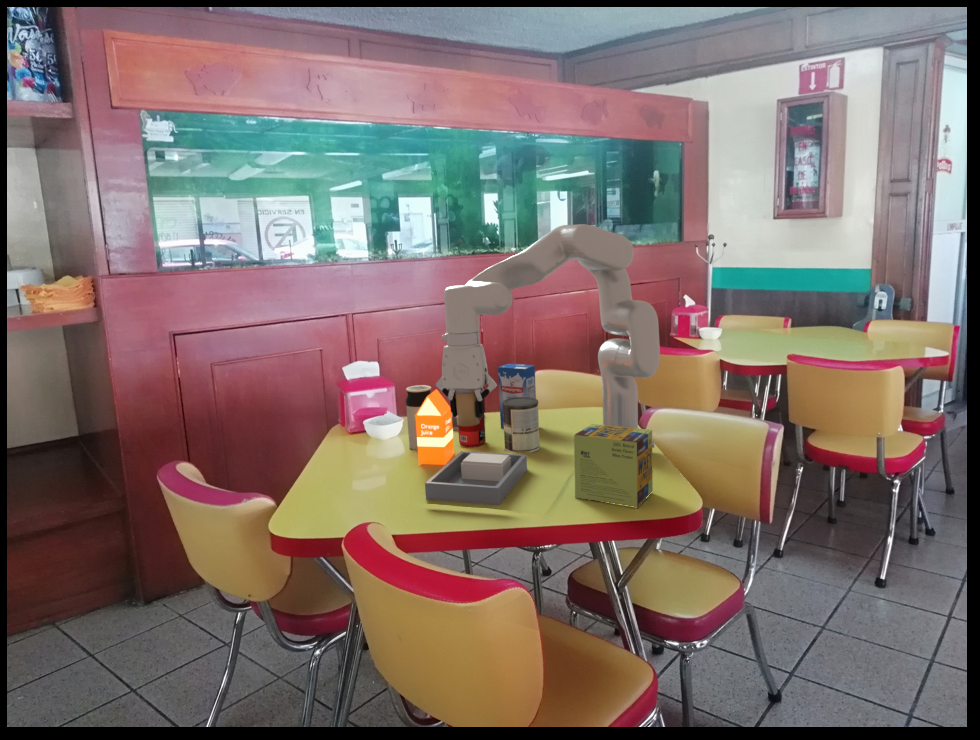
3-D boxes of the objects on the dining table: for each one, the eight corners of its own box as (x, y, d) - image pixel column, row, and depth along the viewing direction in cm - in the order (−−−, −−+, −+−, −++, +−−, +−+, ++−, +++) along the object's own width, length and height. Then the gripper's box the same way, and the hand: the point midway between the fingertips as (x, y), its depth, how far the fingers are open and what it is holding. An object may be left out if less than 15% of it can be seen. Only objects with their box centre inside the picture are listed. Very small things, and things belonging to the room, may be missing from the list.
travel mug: (429, 451, 201) (425, 391, 197) (404, 449, 203) (400, 390, 200) (440, 443, 208) (436, 385, 205) (416, 441, 211) (412, 384, 207)
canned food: (485, 447, 202) (483, 410, 200) (458, 448, 202) (456, 412, 200) (486, 439, 210) (484, 404, 207) (460, 440, 210) (457, 405, 208)
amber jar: (475, 426, 159) (473, 388, 157) (453, 426, 160) (451, 388, 158) (482, 420, 164) (480, 383, 162) (461, 419, 165) (459, 383, 163)
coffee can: (497, 451, 198) (495, 403, 195) (517, 441, 206) (514, 395, 203) (527, 456, 192) (525, 407, 189) (546, 446, 200) (545, 398, 197)
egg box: (511, 472, 177) (510, 454, 176) (503, 481, 170) (502, 463, 169) (471, 469, 180) (470, 452, 179) (461, 478, 174) (460, 461, 173)
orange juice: (454, 457, 194) (450, 388, 190) (446, 468, 185) (441, 396, 182) (428, 457, 196) (423, 388, 192) (418, 467, 187) (413, 395, 183)
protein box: (638, 509, 152) (637, 442, 149) (574, 498, 160) (572, 434, 157) (653, 493, 161) (653, 429, 158) (592, 483, 169) (591, 422, 166)
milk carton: (537, 426, 221) (534, 365, 217) (527, 431, 216) (525, 369, 212) (510, 423, 226) (507, 363, 222) (500, 428, 221) (497, 367, 217)
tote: (527, 473, 178) (526, 454, 177) (499, 509, 156) (498, 488, 155) (462, 469, 184) (461, 451, 183) (426, 503, 162) (424, 482, 161)
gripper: (422, 342, 157) (428, 419, 161) (493, 342, 152) (497, 421, 155) (435, 337, 164) (440, 410, 168) (503, 336, 159) (507, 413, 162)
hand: (467, 415), depth 162 cm, fingers closed on amber jar, 5 cm apart
